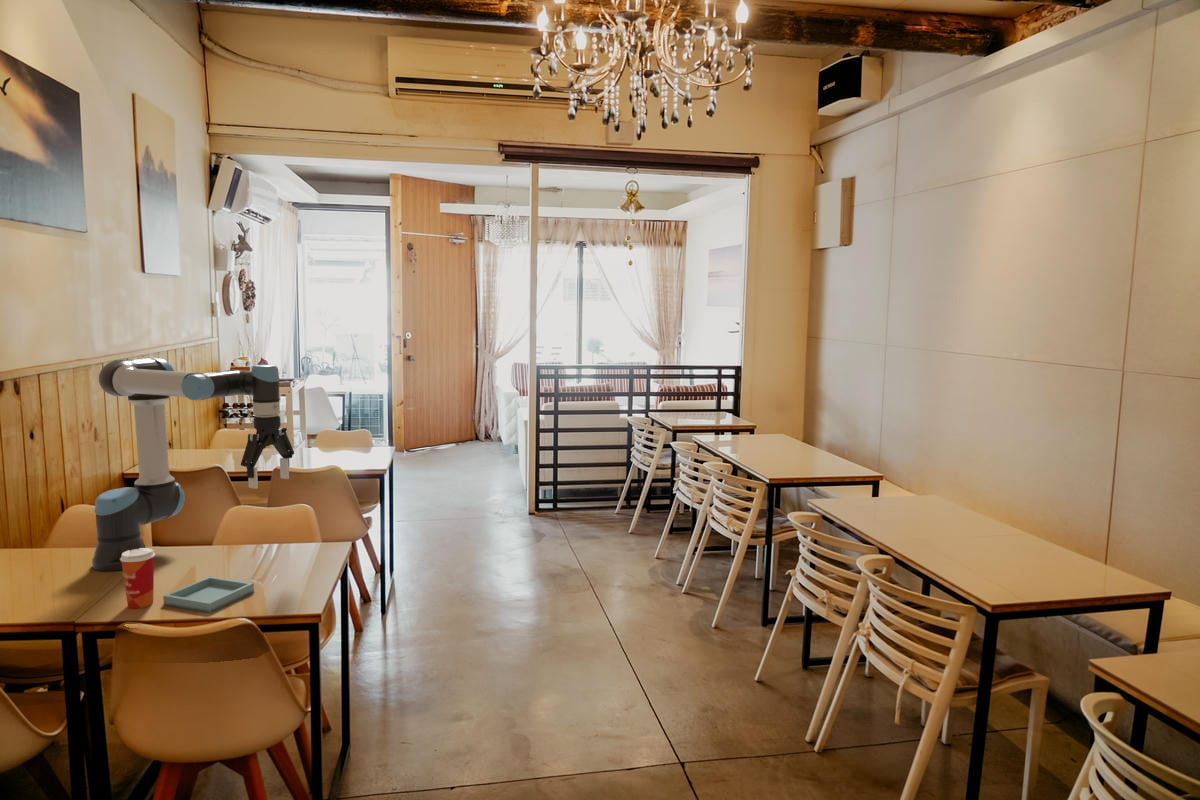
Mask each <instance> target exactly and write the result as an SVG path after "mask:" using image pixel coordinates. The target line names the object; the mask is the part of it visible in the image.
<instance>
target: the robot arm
mask: <svg viewBox="0 0 1200 800" xmlns="http://www.w3.org/2000/svg"><path fill="white" fill-rule="evenodd" d="M280 379H281V378H280V373H279V367H278V366H277V365H274V364H256V365H252V367H251V370H242V369H241V370H239V369H225V370H224V371H219V372H218V371H217V372H192V371H190V372H189V371H175V369H174V367H173V365H172V364H170V363H169V362H168V361H167V360H166V359H164V358H159V357H142V358H141V357H140V358H131V359H117V360H113V361H110V362H108V363H107V364H105V365H104V366H103V367H102V368H101V370H100V371H99V374H98V383H99V385H100V387H101V389H102V390H103V391H104V392H105V393H107V394H109V395H110V396H115V397H127V400H128V402H129V403H131V404H132V405H133V406H134V407H133V408H134V421H135V424H134V425H135V435H136V436H135V437H136V438H135V439H136V449H137V461H138V462H137V463H138V474H139V475H138V478H137V479H136V480H135V481H134V487H133V486H130V487H129V486H127V487H125V486H123V487H120V488H114V489H109V490H107V491H105V492H102V493H100V494H99V495H97V497H96V499H95V500H94V501H95V502H94V504H95V505H94V514H95V522H96V538H97V541H96V543H97V544H96V547H95V550H94V555H93V558H92V559H91V563H92V564H91V566H92V569H93V570H95V571H101V572H113V571H114V572H115V571H123V569H122V561H120V558H121V556H122V553H123V552H125V551H128V550H130V552H131V550H133V549H139V548H147V547H146V545H145V543H144V541H143V538H142V535H141V534H142V533H141V526H144V525H147V524H151V523H155V522H158V521H162V520H166V519H169V518H171V517H173V516H175V515H177V514H178V513H179V512H180V511H181V510H183V509H182V508H183V507H184V504H185V492H184V489H183V488H182V486H181V485H180V484H179V483H178V482H176V479H175V477H174V476H173V475H171V474H170V463H169V451H168V437H167V436H168V435H167V424H166V408H165V404H166V403H167V401H168V400H169V399H170V397H178V398H179V397H181V398H187V399H188V400H191V401H205V400H208V399H217V398H223V397H232V396H242V395H243V396H252V412H253V413H252V414H253V415H254V417H253V428H254V429H255V430H256V432H255V433H249V434H248V435H247V443H246V445H245V449H244V452H243V455H242V459H241V462H240V466H242V467H245V468H246V477H247V478H248V479H247V480H248V488H249V489H256V490H257V489H258V488H259V487H258V486H259V482H258V466H256V464H257V462H258V461H259V459H260V457H261V455H262V453H263V451H264V450H265V449H266V448H267V447H269V446H273V448H274V449H275V450H276V451H277V453H278V454H279V456H281V457H280V458H279V474H280V475H279V477H280V479H285V480H290V459H292V458H293V455H294V454H295V450H294V449H293V446H292V444H291V441H290V439H289V436H288V433H287V428H285V427H281V426H282V424H281V416H280V415H279V414H280V413H281V409H280V407H281V406H280V405H281V403H280V401H281V400H280Z"/></svg>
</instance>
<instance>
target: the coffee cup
mask: <svg viewBox="0 0 1200 800" xmlns="http://www.w3.org/2000/svg"><path fill="white" fill-rule="evenodd" d="M155 556H156V553H155V552H154V550H153V549H152V548H149V547H146V548H139V549H133V550H131V552H130V550H128V551H125V552H123V553H122V556H121V558H120V561H122V569H123V570H122V575H123V582H124V590H125V595H126V596H125V598H126V603H127V607H128V609H130V608H131V609H133V610H138V609H139V608H140V609H144V608H148V607H149V606H152V605H153V604H154V592H155V591H154V590H155V589H154V587H155V585H154V584H155V583H154V581H155V579H154V576H155V573H154V572H155V570H154V569H155V558H154V557H155Z"/></svg>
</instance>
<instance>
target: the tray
mask: <svg viewBox="0 0 1200 800" xmlns="http://www.w3.org/2000/svg"><path fill="white" fill-rule="evenodd" d="M254 584H255V583H254V582H247V581H242V580H237V579H236V580H234V579H230V578H229V579H227V578H224V577H223V578H222V577H217V576H208V577H205V578H202V579H201V580H198V581H196V582H193V583H190V584H189V585H186V586H184V587H181V588H179V589H177V590H174V591H171V592H170V593H167V594H165V595H163V606H167V607H168V606H169V607H173V608H179V609H180V608H181V609H186V610H190V611H191V610H192V611H197V612H203V613H208V614H210V613H212V612H214V611H217V610H219V609H221V608H223V607H225V606H228V605H229V604H232V603H233V602H235V601H238V600H239V599H242V598H244V597H246V596H249V595H251V594H252V593H253V594H254V592H255V585H254Z"/></svg>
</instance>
